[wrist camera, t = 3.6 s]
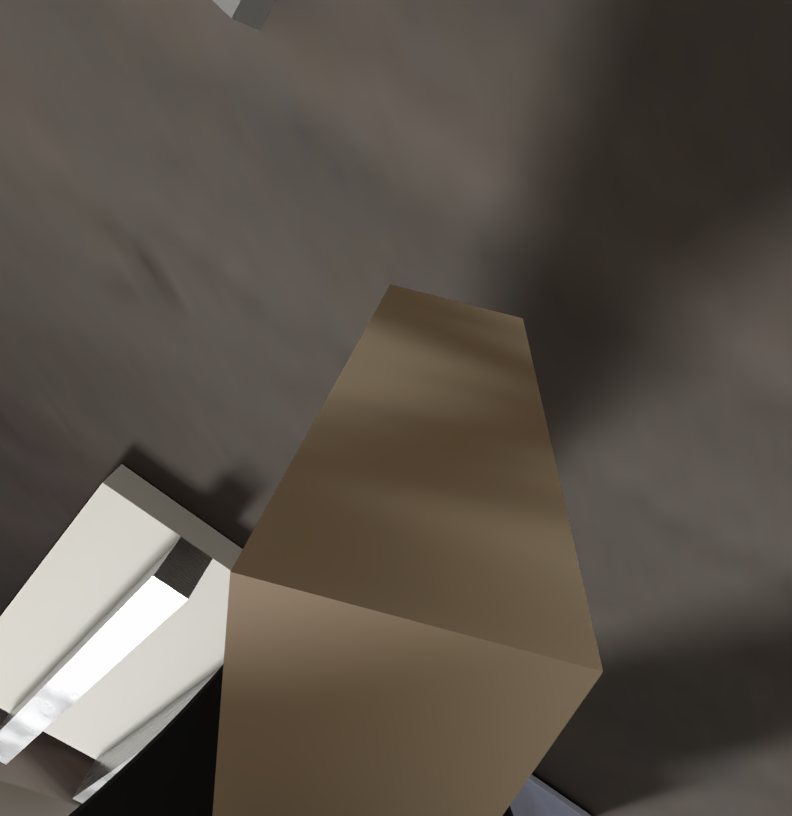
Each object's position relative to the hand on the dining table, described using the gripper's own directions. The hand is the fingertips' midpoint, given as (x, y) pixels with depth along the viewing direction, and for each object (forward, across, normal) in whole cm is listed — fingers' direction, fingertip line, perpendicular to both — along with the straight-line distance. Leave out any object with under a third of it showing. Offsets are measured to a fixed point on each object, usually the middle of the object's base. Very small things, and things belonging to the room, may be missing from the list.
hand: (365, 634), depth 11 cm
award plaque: (+8, +14, -29) cm, 33 cm away
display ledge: (+8, +10, +16) cm, 20 cm away
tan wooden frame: (+2, 0, 0) cm, 2 cm away
